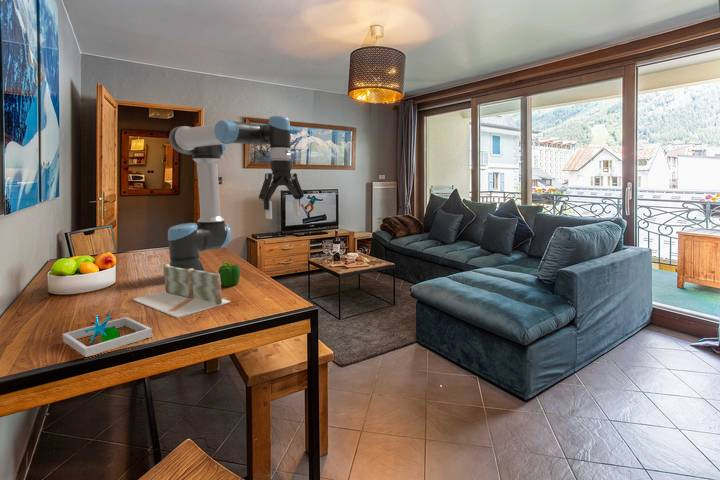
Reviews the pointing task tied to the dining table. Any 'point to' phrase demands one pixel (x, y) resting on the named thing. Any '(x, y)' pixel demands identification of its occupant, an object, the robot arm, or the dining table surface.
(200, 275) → the folding fence panel
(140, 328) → the grey storage tray
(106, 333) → the stick construction toy
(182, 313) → the card
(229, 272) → the bell pepper
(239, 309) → the dining table surface
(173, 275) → the fixed fence section
